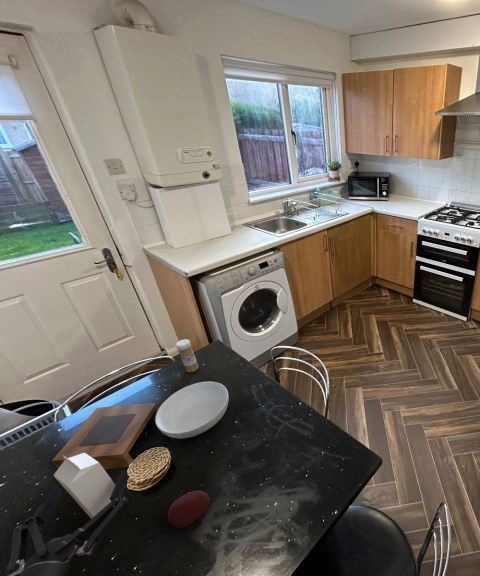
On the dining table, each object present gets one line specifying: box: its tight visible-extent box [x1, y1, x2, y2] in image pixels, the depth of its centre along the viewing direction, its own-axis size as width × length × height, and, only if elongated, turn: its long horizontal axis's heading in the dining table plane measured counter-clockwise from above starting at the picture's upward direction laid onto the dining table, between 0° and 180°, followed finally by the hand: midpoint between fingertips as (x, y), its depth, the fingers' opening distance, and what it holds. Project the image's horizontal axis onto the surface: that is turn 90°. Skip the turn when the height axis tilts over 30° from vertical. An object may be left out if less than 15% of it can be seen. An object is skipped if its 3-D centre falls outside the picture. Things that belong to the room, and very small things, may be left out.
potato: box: [167, 490, 211, 529], centre depth 78 cm, size 8×9×6 cm
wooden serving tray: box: [51, 402, 160, 470], centre depth 95 cm, size 18×18×6 cm
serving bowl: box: [154, 381, 230, 439], centre depth 102 cm, size 21×21×7 cm
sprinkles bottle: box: [175, 338, 199, 373], centre depth 121 cm, size 5×5×14 cm
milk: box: [53, 453, 126, 520], centre depth 74 cm, size 6×6×22 cm
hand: (92, 481), depth 75 cm, fingers open, 13 cm apart
